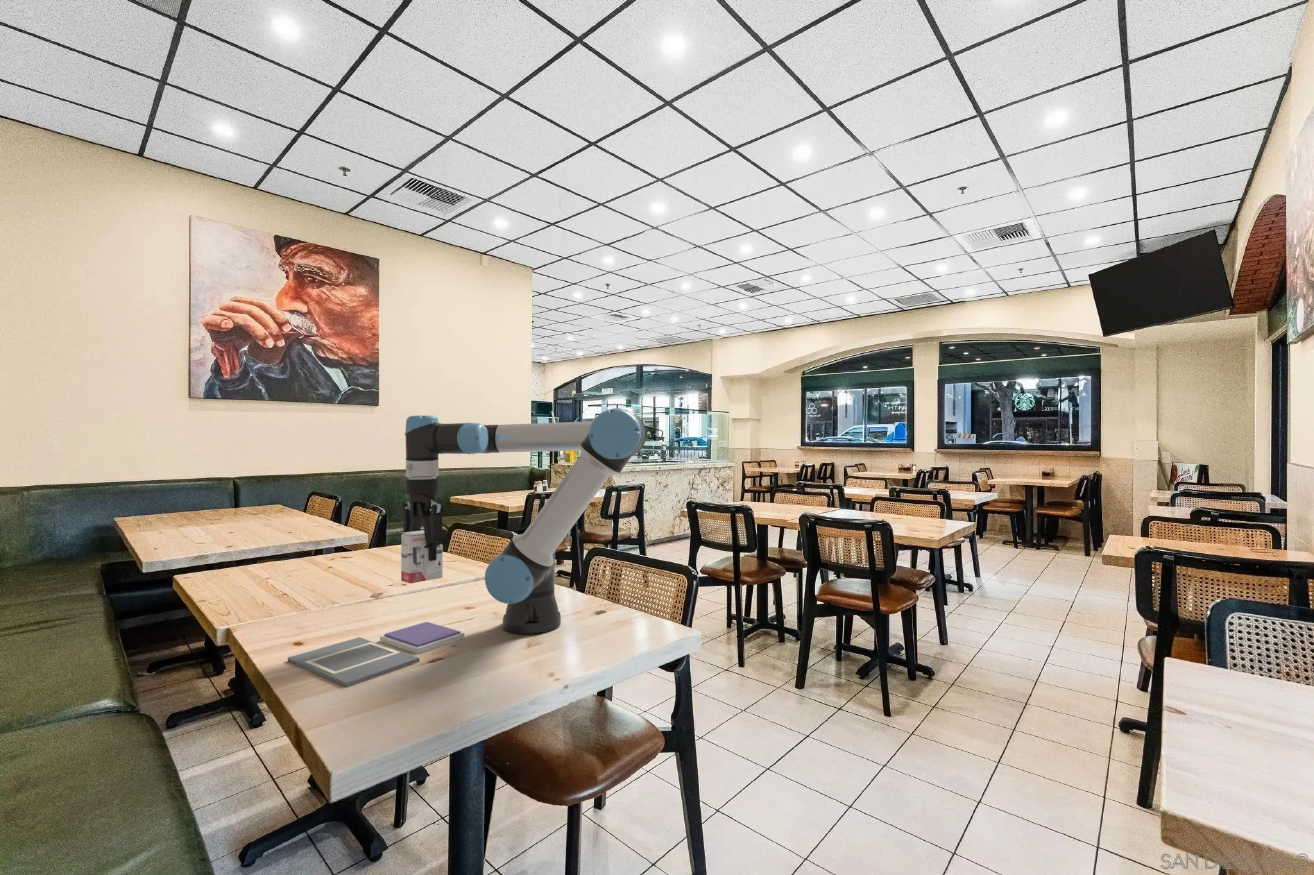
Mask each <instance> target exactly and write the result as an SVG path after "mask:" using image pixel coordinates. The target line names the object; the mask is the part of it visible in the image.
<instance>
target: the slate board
mask: <svg viewBox="0 0 1314 875" xmlns="http://www.w3.org/2000/svg"><path fill="white" fill-rule="evenodd" d="M289 661H290V662H289ZM287 662H289V663H291V662H292V663H291V664H293V663H295V664H296V666H298V665H299V666H298V667H300V666H302V667H303V668H302V667H301V668H302V669H304V668H306V669H305V670H307V669H308V670H307V671H309V670H310V671H309V672H311V671H312V672H311V673H313V672H315V673H314V674H316V675H319V676H320V675H321V676H320V677H323V678H325V679H327V680H329V681H332V682H334V683H336V684H338V685H340V684H341V686H343V687H346V688H349V687H351V686H354V685H357V684H359V683H362V682H365V681H368V680H371V679H373V678H377V677H379V676H382V675H385V674H387V673H388V674H389V673H391V672H393V671H396V670H399V669H402V668H405V667H408V666H411V665H414V664H416V663H419V662H420V657H417V656H415V655H412V654H409V653H406V652H404V651H400V650H398V649H394V648H392V647H390V646H385V645H383V644H380V643H378V642H375V641H372V640H369V639H366V638H364V637H360V636H359V637H355V638H352V639H348V640H345V641H341V642H338V643H334V644H331V645H327V646H323V647H320V648H317V649H313V650H309V651H306V652H302V653H299V654H295V655H291V656H289V657H287ZM295 664H294V665H295Z"/></svg>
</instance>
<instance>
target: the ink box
mask: <svg viewBox="0 0 1314 875" xmlns="http://www.w3.org/2000/svg"><path fill="white" fill-rule="evenodd" d="M400 536H401V537H400V538H401V539H400V540H401V541H400V542H401V543H400V544H401V547H400V548H401V549H400V550H401V552H400V553H401V554H400V556H401V558H400V562H401V564H400V565H401V566H400V569H401V570H400V574H401V576H400V581H401V582H403V583H406V584H410V585H411V584H416V583H421V582H425V581H426V582H427V581H431V580H438V579H442V578H443V575H444V574H443V572H444V571H443V564H444V561H443V547H444V546H443V544H440V545H438V546H437V555H436V556H437V559H436V573H433V574H429V575H424V546H426V539H425V533H424V529H423V530H422V529H421V531H412V532H404V533H403V532H402V533H401V535H400Z"/></svg>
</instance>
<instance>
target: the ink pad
mask: <svg viewBox="0 0 1314 875" xmlns="http://www.w3.org/2000/svg"><path fill="white" fill-rule="evenodd" d="M465 636H466V635H465V632H462V631H460V630H457V629H454V628H449V627H447V626H442V625H440V624H437V623H434V622H429V621H425V622H422V623H417V624H414V625H411V626H407V627H404V628H400V629H397V630H394V631H390V632H387V633H384V634H383V635H380V636H379V642H382V643H384V644H387V645H390V646H393V647H396V648H399V649H401V650H404V651H407V650H408V651H407V652H410V653H414V654H416V655H418V654H421V652H422V653H424V652H428V651H430V650H433V649H437V648H439V647H442V646H444V645H447V644H446V643H448V644H451V643H454V642H457V641H460V640H462V638H463V639H464V638H465ZM453 641H454V642H453ZM441 645H442V646H441Z"/></svg>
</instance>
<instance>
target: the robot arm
mask: <svg viewBox="0 0 1314 875" xmlns="http://www.w3.org/2000/svg"><path fill="white" fill-rule="evenodd" d="M404 436H405V467H404V468H405V477H406V478H408V479H406V480H405V494H406V495H408V496H409V500H408V501H405V502H402V504H401V507H402V513H403V514H402V515H403V516H402V520H403V521H402V534H403V533H404V532H412V531H422V527H423V530H424V533H425V539H426V546H424V575H429V574H433V573H436V559H437V556H436V555H437V546H438V545H440V544H443V543H444V532H443V528H444V527H443V526H444V525H443V510H444V504H443V503H438V502H437V501H436V498H435V496H436V494H438V493H439V488H440V487H439V486H440V485H439V482H440V481H439V479H438V478H437V477H439V475H440V473H439V471H440V470H439V468H440V467H439V454H440V455H444V454H447V455H449V454H450V455H453V454H454V455H458V454H459V455H462V454H464V455H465V454H467V455H476V454H494V453H495V454H498V453H499V454H500V453H526V452H527V453H531V452H532V453H533V452H534V453H536V452H570V451H574V452H575V451H580V456H579V457H578V458H577V459H576V461H575V462H574V464H573V465H572V466H571V468H570V469H569V470H568V472H567V473H566V474H565V476H564V478H563V479H562V480H561V481H560V483H559V484H558V485H557V487H556V489H555V490H554V491H553V493H552V494H551V496H549V498H548V500H547V501H546V502H545V504H543V507H542V508H541V509H540V510H539V511H538V513H537V515H536V516H535V517H534V519H533V520H532V522H531V523H530V524H529V526H528V527H527V528H526V530H525V531H524V532H523V533H522V534H515V535H514V536H513V537H512V538H511V540H510V541H509V542H508V543H507V545H506V546H505V548H504V549H503V551H501V554H499V555H498V556H496V557H494V558H493V559H492V560H491V561H490V563H489V564H488V565H487V567H486V570H485V572H484V582H485V588H486V590H487V591H488V593H489V594H490V596H491V597H492V598H493V599H494V600H496V601H497V602H500V603H503V604H507V605H506V608H505V614H504V615H503V617H502V629H503V630H504V631H506V632H507V633H511V634H517V635H534V633H536V634H540V633H539V632H543V633H547V632H550V630H551V631H553V629H554V630H555V629H558V628H559V627H560V626H561V622H562V618H561V617H562V616H561V612H560V611H559V608H558V603H557V600H556V595H555V579H556V578H555V574H556V571H555V570H556V569H555V568H556V567H555V566H556V564H555V563H556V562H555V561H556V550H557V549H558V547H559V546H560V544H561V543H562V542H563V541H564V539H565V538H566V537H567V535H568V534H569V532H570V531H571V530H572V529H573V527H574V526H575V524H576V523H577V522H578V520H579V519H580V517H581V516H582V514H583V513H584V512H585V510H586V509H587V507H588V506H589V505H590V503H591V502H592V501H593V499H594V498H595V497H596V495H597V494H598V492H599V491H600V490H601V488H602V487H603V486H604V484H605V483H606V482H607V480H608V479H609V477H610V476H614V475H620V474H621V472H622V471H623V469H624V468H625V467H626V466H627V463H628V462H629V461H630V460H631V458H632V457H633V456H634V455H637V453H639V452H640V451H641V450H642V449H643V447H644V445H645V443H646V441H647V436H648V435H647V428H646V426H645V423H644V422H643V420H642V419H641V417H639V416H638V415H637V414H635V413H633V412H631V411H629V410H628V409H624V408H619V407H616V408H615V407H614V408H609V409H606V410H603V411H602V412H601V413H599V414H598V415H597V416H596V417H594V418H593V419H592V420H590V421H570V422H569V421H567V422H540V423H538V422H537V423H511V424H510V423H509V424H508V423H507V424H483V423H480V422H478V423H477V422H464V423H463V422H462V423H461V422H459V423H458V422H457V423H441V422H439V418H438V417H437V416H436V415H410V416H408V417H407V418H406V419H405V432H404ZM559 625H560V626H559ZM557 627H558V628H557ZM546 631H547V632H546Z"/></svg>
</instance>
